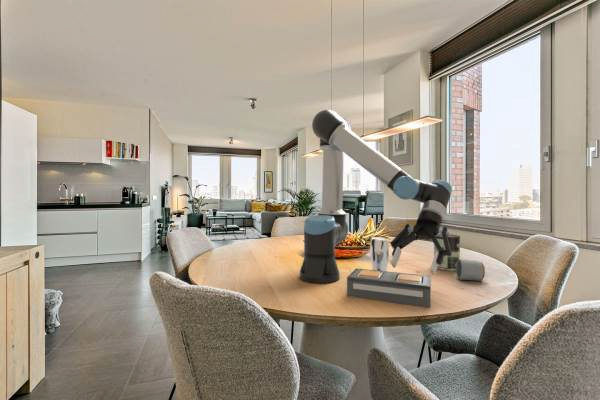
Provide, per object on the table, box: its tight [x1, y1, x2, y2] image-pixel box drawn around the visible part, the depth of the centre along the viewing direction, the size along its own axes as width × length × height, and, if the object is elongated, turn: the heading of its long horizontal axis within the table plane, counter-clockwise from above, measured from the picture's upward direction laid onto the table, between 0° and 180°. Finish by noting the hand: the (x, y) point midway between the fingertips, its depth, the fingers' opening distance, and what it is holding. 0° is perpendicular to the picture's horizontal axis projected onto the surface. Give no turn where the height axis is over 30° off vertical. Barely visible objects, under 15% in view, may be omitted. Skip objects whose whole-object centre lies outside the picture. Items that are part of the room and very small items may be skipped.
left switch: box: [357, 269, 383, 279], centre depth 99 cm, size 7×7×4 cm
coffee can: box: [433, 233, 461, 272], centre depth 132 cm, size 10×10×14 cm
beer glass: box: [369, 237, 390, 272], centre depth 116 cm, size 7×7×15 cm
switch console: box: [346, 268, 432, 308], centre depth 96 cm, size 24×12×6 cm, turn 66°
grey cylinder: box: [455, 258, 486, 282], centre depth 115 cm, size 11×8×8 cm
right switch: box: [396, 274, 422, 283], centre depth 94 cm, size 7×7×4 cm
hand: (411, 268), depth 95 cm, fingers open, 12 cm apart
